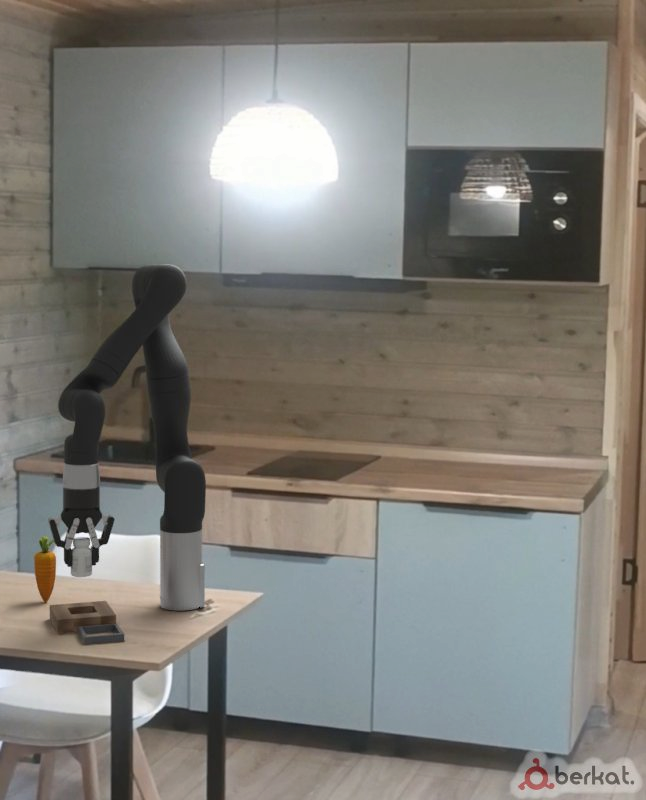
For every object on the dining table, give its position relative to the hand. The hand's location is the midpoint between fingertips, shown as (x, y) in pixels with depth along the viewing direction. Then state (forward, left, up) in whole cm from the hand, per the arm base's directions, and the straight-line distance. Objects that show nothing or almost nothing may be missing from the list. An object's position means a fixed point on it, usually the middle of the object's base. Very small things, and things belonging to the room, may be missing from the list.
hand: (81, 565), depth 277 cm
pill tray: (-2, +11, -13) cm, 17 cm away
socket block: (0, 0, -13) cm, 13 cm away
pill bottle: (0, 0, -2) cm, 2 cm away
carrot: (+5, -20, -13) cm, 24 cm away
